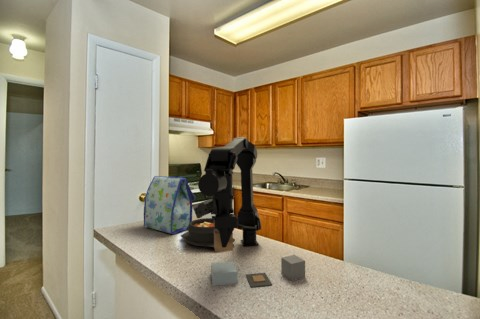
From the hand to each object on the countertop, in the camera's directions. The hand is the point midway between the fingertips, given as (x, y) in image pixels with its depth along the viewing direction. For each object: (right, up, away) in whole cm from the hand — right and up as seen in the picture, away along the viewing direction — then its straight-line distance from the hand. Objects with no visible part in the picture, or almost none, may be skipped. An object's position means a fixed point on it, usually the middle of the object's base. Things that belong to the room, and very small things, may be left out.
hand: (223, 243), depth 72 cm
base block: (0, -10, 0) cm, 10 cm away
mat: (+10, -10, -1) cm, 14 cm away
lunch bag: (-31, -10, +51) cm, 61 cm away
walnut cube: (0, -1, 0) cm, 1 cm away
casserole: (-9, -10, +31) cm, 34 cm away
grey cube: (+21, -10, +2) cm, 23 cm away
